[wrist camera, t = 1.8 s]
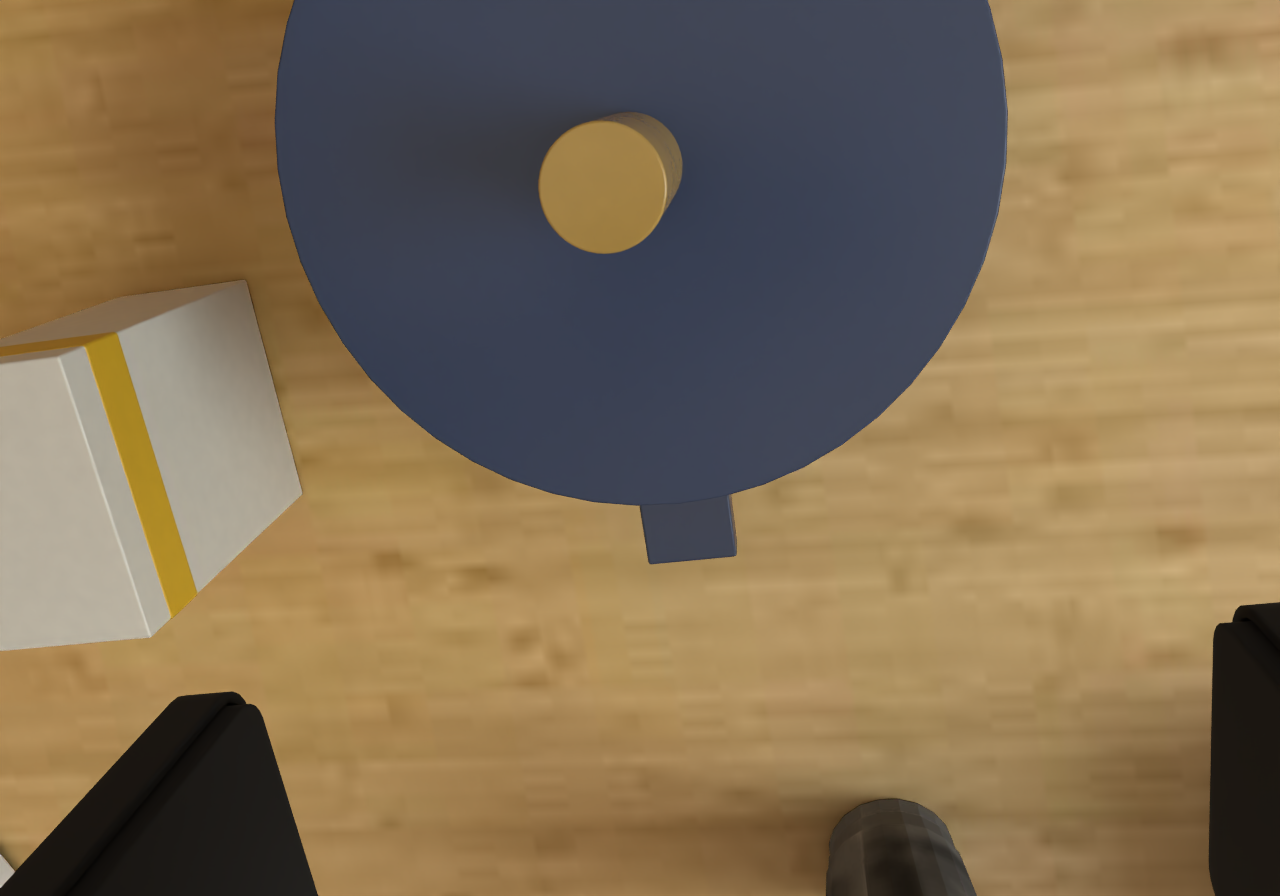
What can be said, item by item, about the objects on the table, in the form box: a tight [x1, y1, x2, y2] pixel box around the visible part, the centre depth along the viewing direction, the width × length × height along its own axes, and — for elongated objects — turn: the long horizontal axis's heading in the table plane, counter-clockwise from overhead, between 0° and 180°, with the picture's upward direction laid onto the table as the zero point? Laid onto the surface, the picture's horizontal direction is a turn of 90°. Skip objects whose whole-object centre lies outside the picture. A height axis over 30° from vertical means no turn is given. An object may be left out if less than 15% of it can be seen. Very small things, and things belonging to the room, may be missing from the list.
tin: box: [640, 494, 737, 564], centre depth 28 cm, size 16×21×8 cm
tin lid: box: [275, 0, 1008, 506], centre depth 22 cm, size 17×17×6 cm
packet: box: [0, 280, 302, 651], centre depth 31 cm, size 5×8×10 cm, turn 8°
